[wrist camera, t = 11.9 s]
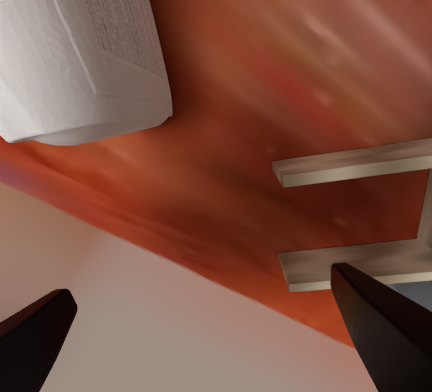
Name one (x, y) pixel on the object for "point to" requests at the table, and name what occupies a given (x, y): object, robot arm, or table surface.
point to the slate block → (416, 292)
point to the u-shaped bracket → (366, 253)
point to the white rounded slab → (80, 70)
